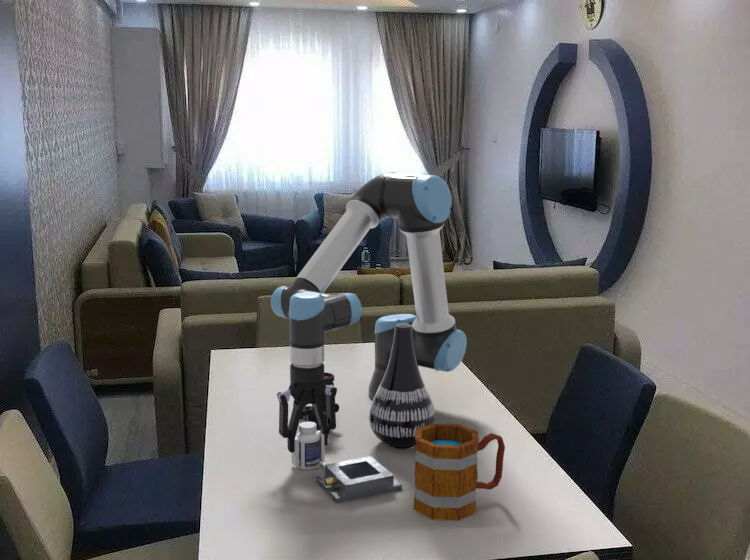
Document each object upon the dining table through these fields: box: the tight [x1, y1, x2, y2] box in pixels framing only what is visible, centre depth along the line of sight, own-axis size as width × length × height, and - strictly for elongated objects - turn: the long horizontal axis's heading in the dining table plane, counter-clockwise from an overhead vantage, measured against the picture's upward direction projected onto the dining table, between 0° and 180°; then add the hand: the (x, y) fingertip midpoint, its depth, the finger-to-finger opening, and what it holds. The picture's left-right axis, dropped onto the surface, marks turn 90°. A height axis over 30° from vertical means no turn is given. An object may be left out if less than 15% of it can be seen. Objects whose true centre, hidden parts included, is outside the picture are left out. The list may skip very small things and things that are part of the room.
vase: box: [368, 324, 436, 450], centre depth 189 cm, size 16×16×30 cm
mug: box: [413, 422, 506, 522], centre depth 161 cm, size 20×14×15 cm
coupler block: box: [315, 455, 403, 504], centre depth 169 cm, size 15×11×4 cm
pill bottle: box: [296, 422, 321, 471], centre depth 178 cm, size 5×5×10 cm
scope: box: [299, 372, 340, 431], centre depth 200 cm, size 8×14×10 cm
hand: (308, 462), depth 179 cm, fingers closed on pill bottle, 5 cm apart
